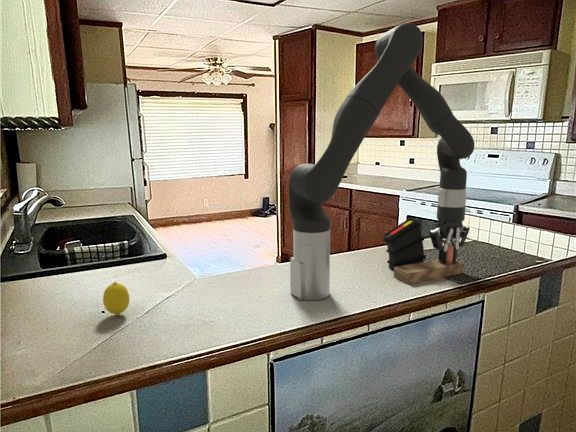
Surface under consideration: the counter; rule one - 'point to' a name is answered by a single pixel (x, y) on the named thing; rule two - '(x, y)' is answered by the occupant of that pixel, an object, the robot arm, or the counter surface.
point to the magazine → (405, 244)
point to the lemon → (116, 298)
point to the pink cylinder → (450, 254)
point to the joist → (427, 271)
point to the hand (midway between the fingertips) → (447, 261)
